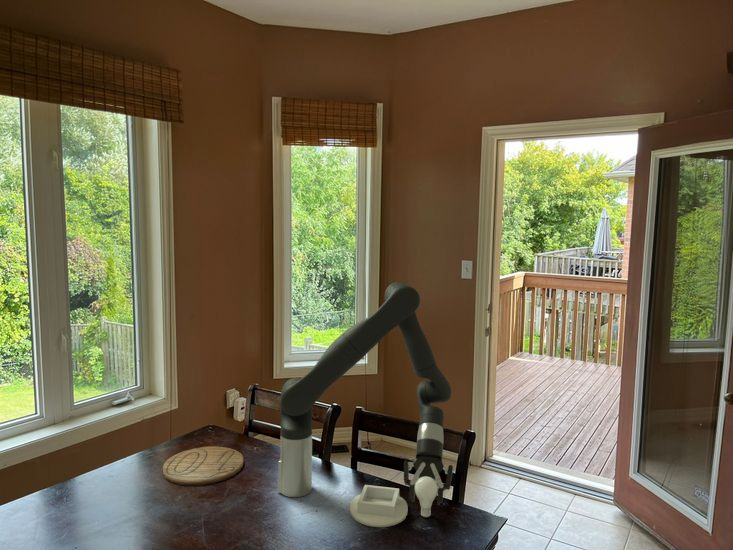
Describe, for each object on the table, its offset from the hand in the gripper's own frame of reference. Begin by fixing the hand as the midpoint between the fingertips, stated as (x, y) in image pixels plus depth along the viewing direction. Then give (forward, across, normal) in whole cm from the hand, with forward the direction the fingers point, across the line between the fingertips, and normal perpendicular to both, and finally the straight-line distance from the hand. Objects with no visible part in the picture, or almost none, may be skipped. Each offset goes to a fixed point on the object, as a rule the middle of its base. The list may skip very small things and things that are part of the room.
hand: (425, 502), depth 141 cm
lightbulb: (+2, 0, +5) cm, 5 cm away
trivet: (-7, -73, +15) cm, 75 cm away
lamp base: (+2, -13, +5) cm, 14 cm away
